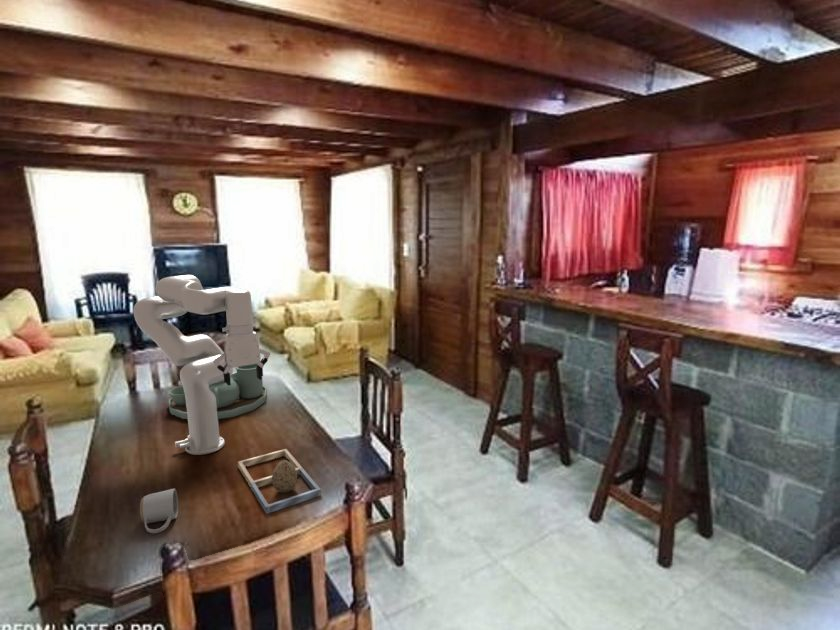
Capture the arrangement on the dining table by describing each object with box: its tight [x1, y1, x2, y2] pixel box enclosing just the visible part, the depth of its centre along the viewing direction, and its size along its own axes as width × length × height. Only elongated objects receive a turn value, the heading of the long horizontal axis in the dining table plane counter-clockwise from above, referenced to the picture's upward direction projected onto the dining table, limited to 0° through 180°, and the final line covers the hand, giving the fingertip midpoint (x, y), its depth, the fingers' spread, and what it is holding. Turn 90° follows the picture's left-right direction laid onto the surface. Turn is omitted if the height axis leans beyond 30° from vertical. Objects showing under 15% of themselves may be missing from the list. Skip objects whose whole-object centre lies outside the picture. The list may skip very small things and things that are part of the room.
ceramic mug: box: [139, 488, 179, 534], centre depth 127 cm, size 11×8×8 cm
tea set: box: [168, 364, 268, 421], centre depth 208 cm, size 40×40×16 cm
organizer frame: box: [237, 448, 322, 515], centre depth 148 cm, size 16×30×2 cm, turn 34°
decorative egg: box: [271, 459, 298, 494], centre depth 141 cm, size 7×7×10 cm
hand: (244, 381), depth 153 cm, fingers open, 9 cm apart
